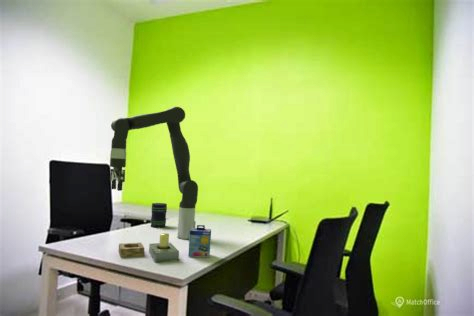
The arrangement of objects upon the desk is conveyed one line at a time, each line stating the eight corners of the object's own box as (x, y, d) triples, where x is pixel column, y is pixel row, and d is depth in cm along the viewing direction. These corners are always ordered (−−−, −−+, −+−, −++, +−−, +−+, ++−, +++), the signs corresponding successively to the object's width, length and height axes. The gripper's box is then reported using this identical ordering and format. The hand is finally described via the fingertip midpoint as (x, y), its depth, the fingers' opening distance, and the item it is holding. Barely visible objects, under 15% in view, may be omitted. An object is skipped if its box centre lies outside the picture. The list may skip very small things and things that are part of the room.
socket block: (140, 249, 150) (141, 242, 150) (143, 255, 141) (144, 247, 141) (118, 251, 146) (118, 243, 146) (120, 257, 137) (120, 249, 137)
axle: (166, 254, 145) (167, 233, 145) (168, 257, 141) (170, 234, 141) (157, 255, 143) (159, 233, 143) (159, 257, 139) (161, 235, 140)
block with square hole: (170, 250, 151) (170, 242, 151) (178, 260, 137) (179, 251, 137) (148, 252, 147) (149, 243, 147) (155, 262, 133) (155, 252, 133)
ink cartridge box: (187, 257, 143) (189, 225, 143) (188, 253, 148) (190, 223, 149) (209, 257, 144) (211, 226, 144) (209, 254, 149) (211, 223, 150)
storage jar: (147, 226, 208) (148, 203, 208) (159, 224, 215) (161, 202, 216) (156, 228, 201) (157, 205, 202) (168, 226, 209) (170, 204, 209)
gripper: (131, 158, 156) (129, 191, 156) (120, 158, 167) (118, 188, 167) (115, 157, 151) (113, 191, 151) (106, 157, 162) (104, 188, 162)
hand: (116, 189), depth 159 cm, fingers open, 8 cm apart
